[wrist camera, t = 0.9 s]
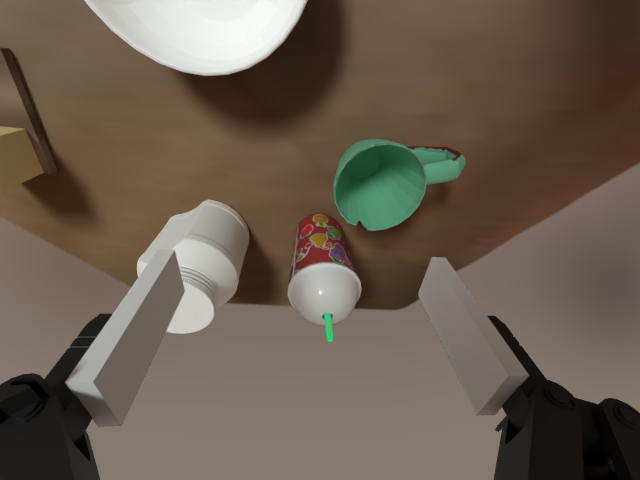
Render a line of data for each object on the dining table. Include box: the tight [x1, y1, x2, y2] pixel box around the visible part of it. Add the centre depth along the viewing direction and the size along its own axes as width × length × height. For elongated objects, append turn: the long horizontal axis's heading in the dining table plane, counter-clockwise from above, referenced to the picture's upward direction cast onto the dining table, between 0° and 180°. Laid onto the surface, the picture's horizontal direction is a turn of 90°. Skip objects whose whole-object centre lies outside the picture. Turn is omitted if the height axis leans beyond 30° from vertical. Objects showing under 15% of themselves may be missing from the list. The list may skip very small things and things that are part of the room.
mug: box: [333, 139, 466, 231], centre depth 33 cm, size 15×10×10 cm
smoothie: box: [288, 214, 362, 342], centre depth 35 cm, size 8×8×20 cm
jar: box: [137, 199, 249, 333], centre depth 36 cm, size 12×10×15 cm
